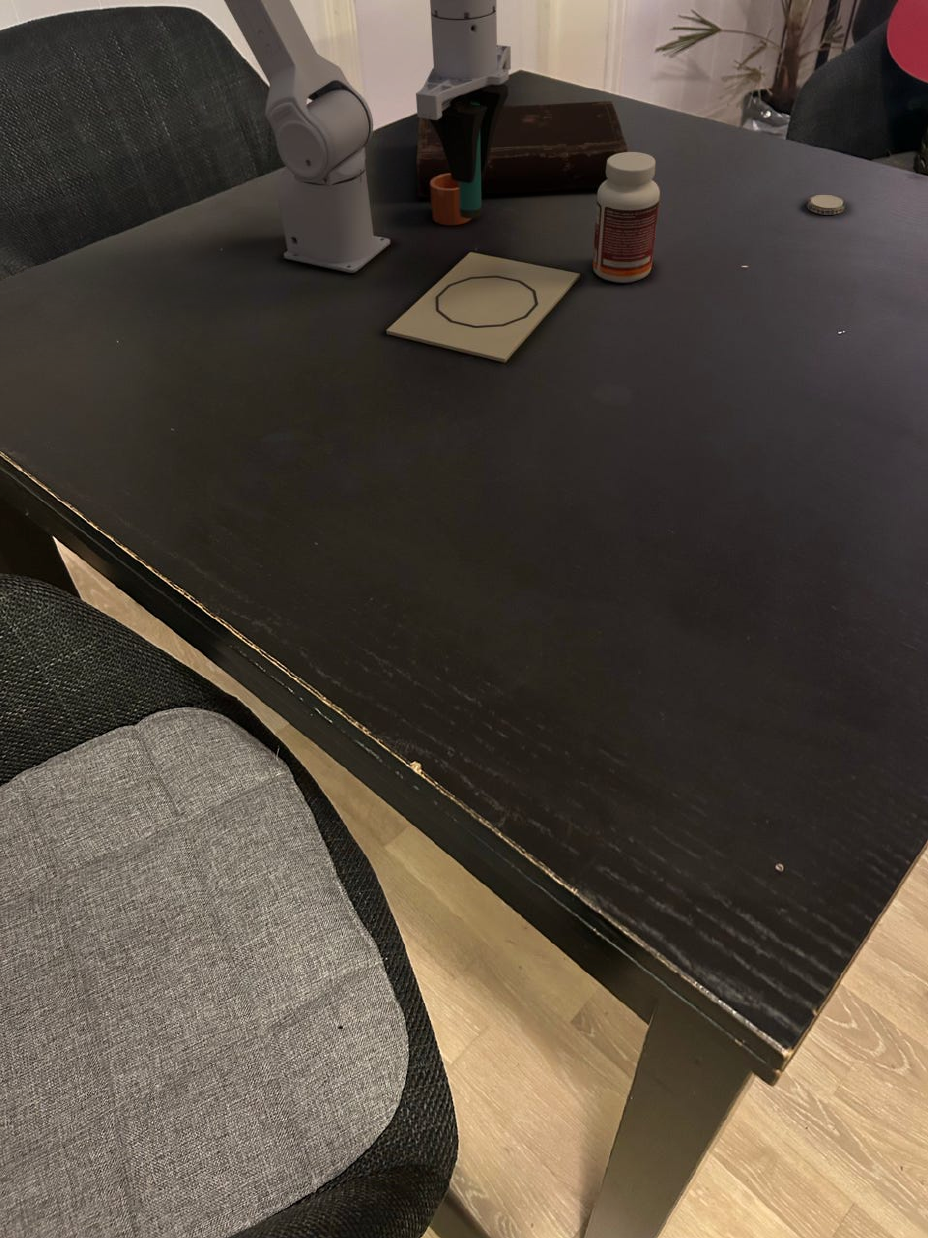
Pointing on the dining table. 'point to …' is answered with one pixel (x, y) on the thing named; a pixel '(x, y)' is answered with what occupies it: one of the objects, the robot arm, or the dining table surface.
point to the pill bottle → (626, 218)
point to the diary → (536, 148)
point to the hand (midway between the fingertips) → (469, 175)
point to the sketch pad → (484, 306)
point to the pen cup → (446, 200)
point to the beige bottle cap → (826, 204)
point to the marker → (472, 189)
